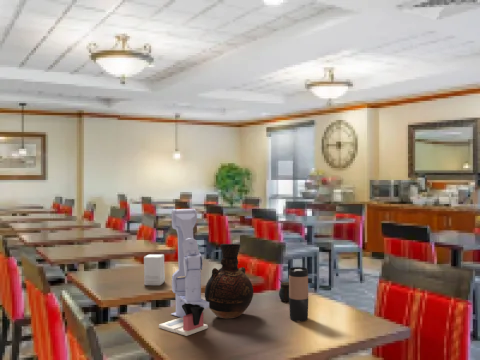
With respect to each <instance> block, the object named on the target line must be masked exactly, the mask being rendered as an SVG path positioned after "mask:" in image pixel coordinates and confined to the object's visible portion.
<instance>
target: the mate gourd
mask: <svg viewBox="0 0 480 360" xmlns="http://www.w3.org/2000/svg"><path fill="white" fill-rule="evenodd" d="M278 281H280V288H279V292H278V298H279V299H280V300H281V301H282V302H287V303H289V281H284V282H282V280H281V279H280V278H278Z"/></svg>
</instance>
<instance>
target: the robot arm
mask: <svg viewBox="0 0 480 360" xmlns="http://www.w3.org/2000/svg"><path fill="white" fill-rule="evenodd" d="M197 213H198V212H197V210H196V208H181V209H179V208H178V209H175V208H173V209H172V211H171V228H172V229H173V230H175V231H176V234H177V261H178V263H177V264H178V269H177V270H175V271H174V273H172V275H171V290H172V293H173V294H175V312H172V313H170V315H172V316H175V317H178V318H183V316H185V315H188V314H193V324H194V325H195V326H196V325H198V324H199V321H200V317H201V314H202V312H203V313H204V310H206V309H210V308H209V302H207V301H206V300H204V299H203V298H202V274H201V273H202V270H203V266H204V265H203V263H204V261H203V257H202V254H201V252H200V251H199V246H198V245H199V244H198V241H197V240H196V239H195V238H194V228H195V226H196V223H197V221H198V214H197Z"/></svg>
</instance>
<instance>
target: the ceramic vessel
mask: <svg viewBox="0 0 480 360" xmlns="http://www.w3.org/2000/svg"><path fill="white" fill-rule="evenodd" d="M220 249H221V253H222V258H221V260H220V265H221V267H220V268H219V269H218V268H216V267H214V268H212V270H211V276H210V277H209V279H208V280H207V281H206V284H205V288H204V298H205V301H207V302H209V308H208V309H209V310H210V311H211V312H212V313H213V314H214V315H215V316H217V317H218V318H220V319H225V320H226V319H227V320H228V319H235V318H238V317H240V316H241V315H243V313H244V312H245V311H246V310H247V309H248V308H249V306H250V305H251V303H252V301H253V297H254V287H253V284H252V282H251V280H250V278H249V277H248V275H247V274H246V268H245V267H244V266H242V267H238V265H239V259H238V256H239V251H240V249H241V244H239V243H221V244H220Z"/></svg>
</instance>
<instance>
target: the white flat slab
mask: <svg viewBox="0 0 480 360" xmlns="http://www.w3.org/2000/svg"><path fill="white" fill-rule="evenodd" d="M158 328H159V329H162V330H164V331H168V332H172V333H177V330H178V329H181V328H183V318H181V317H178V318H175V319H172V320H169V321H166V322H162V323H159V324H158Z"/></svg>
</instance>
